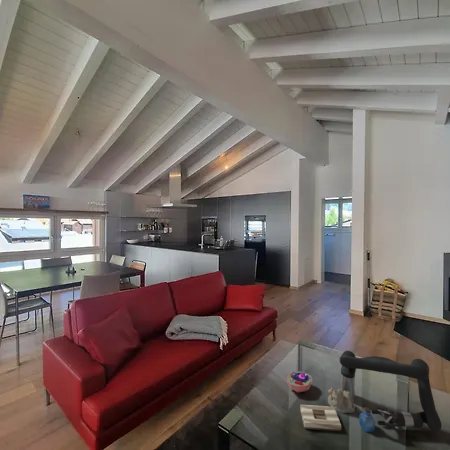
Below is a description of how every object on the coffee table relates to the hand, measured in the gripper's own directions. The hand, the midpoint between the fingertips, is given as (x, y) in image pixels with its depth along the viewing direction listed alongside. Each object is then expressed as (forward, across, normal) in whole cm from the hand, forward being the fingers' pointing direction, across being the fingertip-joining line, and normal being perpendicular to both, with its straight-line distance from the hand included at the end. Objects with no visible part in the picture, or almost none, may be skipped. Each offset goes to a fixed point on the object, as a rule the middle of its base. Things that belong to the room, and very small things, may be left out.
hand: (374, 417), depth 164 cm
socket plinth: (+32, -3, +7) cm, 33 cm away
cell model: (+40, -32, +7) cm, 52 cm away
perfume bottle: (+4, 0, +7) cm, 9 cm away
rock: (+14, -18, +7) cm, 24 cm away
